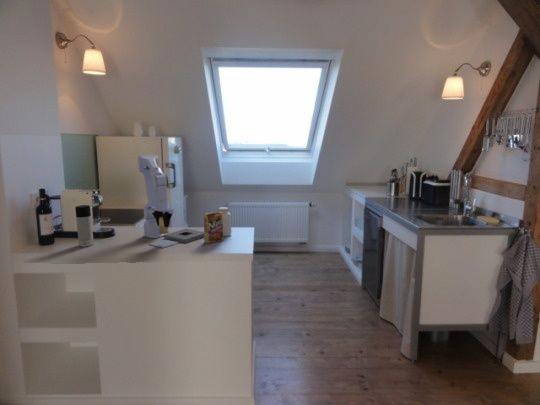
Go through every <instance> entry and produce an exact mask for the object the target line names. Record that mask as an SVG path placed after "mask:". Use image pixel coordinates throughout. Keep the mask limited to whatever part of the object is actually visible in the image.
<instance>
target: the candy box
mask: <svg viewBox="0 0 540 405" xmlns="http://www.w3.org/2000/svg"><path fill="white" fill-rule="evenodd" d="M203 232H204V237H203V240H204V243H206V244H211V243H217V242H223V241H224V236H223V213H222V212H220V211H219V210H218V211H212V212H211V211H210V212H203Z"/></svg>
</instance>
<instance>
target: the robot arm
mask: <svg viewBox="0 0 540 405" xmlns="http://www.w3.org/2000/svg"><path fill="white" fill-rule="evenodd" d="M137 166H138V171H139V172H140V173H142V175H143V178H144V184H145V185H144V186H145V191H146V198H147V203H146V204H144V206H143V218H144V223H143V235H142V236H143V237H145V238H150V239H158V238H161V237H164V235H166V234H167V233H166V234H160V232H159V217H161V216H162V217H163V221H164V227H168V228H169V226H170V222H171V220H172V217H173V214H175V209H173V208H170V207H169V201H168V200H169V199H168V186H169V178H168V175H167V174H165V173H164V172H163V170H162V168H160V167H159V156H158V155H157V154H149V155H148V154H145V155H141V154H139V155H138V156H137Z"/></svg>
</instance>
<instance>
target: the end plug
mask: <svg viewBox="0 0 540 405" xmlns="http://www.w3.org/2000/svg"><path fill="white" fill-rule="evenodd" d="M159 232H160V234H169V233H170V232H169V227H164V221H163V217H162V216H161V217H159Z"/></svg>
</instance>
